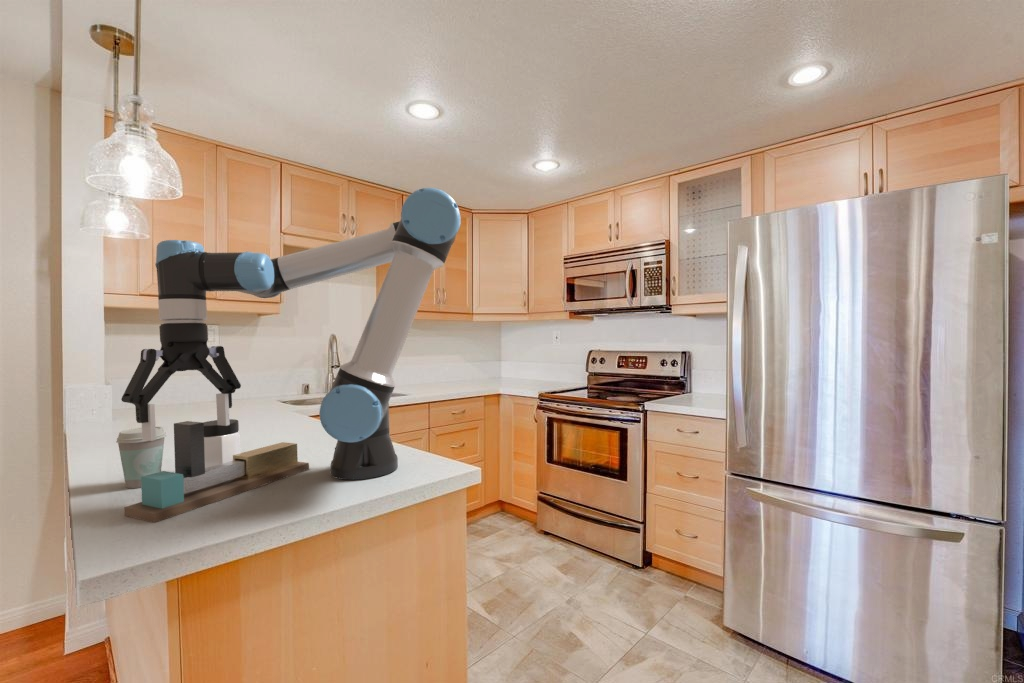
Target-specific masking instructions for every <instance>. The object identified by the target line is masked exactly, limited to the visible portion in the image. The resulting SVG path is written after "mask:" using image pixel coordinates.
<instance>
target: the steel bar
mask: <svg viewBox="0 0 1024 683" xmlns="http://www.w3.org/2000/svg"><path fill="white" fill-rule="evenodd" d="M173 439H174V440H173V441H174V446H173V447H174V473H179V474H183V487H184V494H186V493H189V492H192V491H196V490H199V489H202V488H205V487H209V486H212V485H215V484H218V483H221V482H225V481H228V480H231V479H234V478H237V477H241V476H244V475H246V460H244V459H237V460H233V461H229V462H226V463H222V464H218V465H215V466H211V467H207V468H205V454H204V423H203V422H199V421H192V420H191V421H190V420H187V421H186V420H185V421H181V422H174V423H173Z"/></svg>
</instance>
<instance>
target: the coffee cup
mask: <svg viewBox="0 0 1024 683" xmlns="http://www.w3.org/2000/svg"><path fill="white" fill-rule="evenodd" d="M155 427H156V440H154V441H146V440H142V427H136V428H130V429H125V430H122V431H119V432H118V436H117V438H116V442H115V443H117V445H118V450H119V456H120V462H121V466H122V473H123V477H124V482H125V488H127V489H139V488H141V477H142V476H146V475H150V474H154V473H158V472H161V471H162V466H163V455H164V448H165V446H164V445H165V437H167V433H166V432H165V430H164V427H162V426H155Z"/></svg>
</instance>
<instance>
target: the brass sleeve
mask: <svg viewBox="0 0 1024 683" xmlns="http://www.w3.org/2000/svg"><path fill="white" fill-rule="evenodd" d="M237 459H244V460H246V475H244V476H241V477H237V478H241V479H248V480H249V479H252V478H255V477H258V476H261V475H264V474H267V473H271V472H274V471H277V470H280V469H283V468H286V467H289V466H292V465H295V464H298V462H299V461H298V443H294V442H285V441H284V442H279V443H278V442H277V443H275V444H269V445H266V446H264V447H259V448H256V449H252V450H248V451H244V452H240V454H236V455H233V460H237Z"/></svg>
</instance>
